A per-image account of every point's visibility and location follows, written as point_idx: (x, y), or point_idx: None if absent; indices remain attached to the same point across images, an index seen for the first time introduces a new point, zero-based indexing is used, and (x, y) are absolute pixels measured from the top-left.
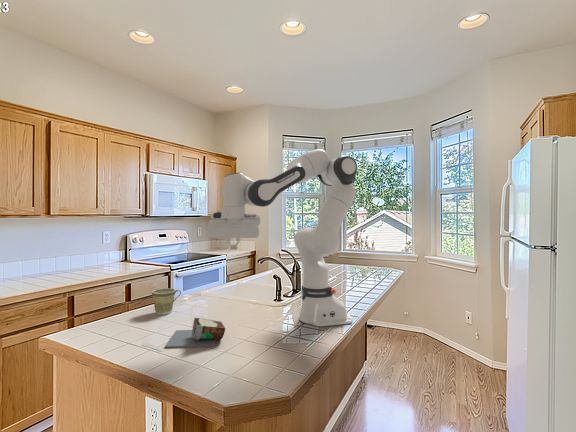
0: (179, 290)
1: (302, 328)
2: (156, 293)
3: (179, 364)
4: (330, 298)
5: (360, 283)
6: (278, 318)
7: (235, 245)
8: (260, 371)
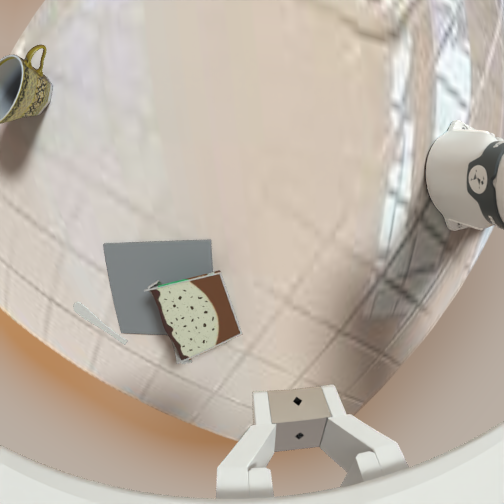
0: (36, 49)
1: (420, 235)
2: None
3: (178, 386)
4: None
5: None
6: (378, 149)
7: (318, 442)
8: None
